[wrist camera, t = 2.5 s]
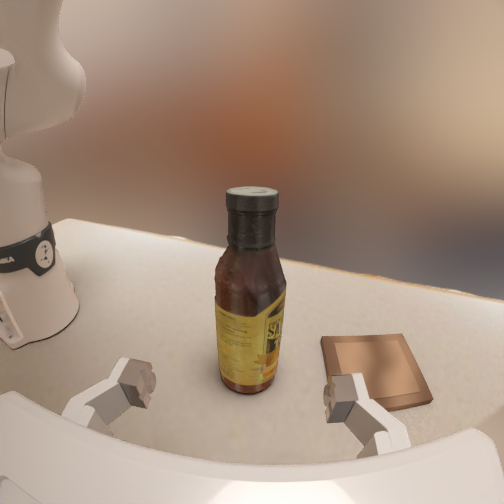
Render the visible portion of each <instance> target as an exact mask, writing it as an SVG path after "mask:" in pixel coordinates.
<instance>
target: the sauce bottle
mask: <svg viewBox="0 0 504 504" xmlns="http://www.w3.org/2000/svg"><path fill="white" fill-rule="evenodd" d="M278 196H279V194H278V192H277V191H276V190H273V189H270V188H264V187H237V188H231V189H228V190H227V192H226V206H227V211H228V227H229V228H228V236H227V240H228V244H229V246H228V247H227V249H226V251H225V252H224V254H223V256H222V257H220V259H219V262H218V264H217V266H216V269H215V284H216V296H215V314H216V331H217V346H218V360H219V368H220V372H221V377H222V379H223V381H224V382H225V383H226V385H227V386H228V387H229V388H231V389H233V390H234V391H237V392H241V393H256V392H259V391H262V390H264V389H265V388H267V387H268V386H269V385H270V383H271V382H272V380H273V379H274V375H275V373H276V370H277V365H278V357H279V349H280V341H281V334H282V323H283V315H284V304H285V295H286V280H285V277H284V274H283V270H282V267H281V264H280V260H279V257H278V253H277V250H276V246H275V213H276V212H277V209H278V202H279V201H278Z"/></svg>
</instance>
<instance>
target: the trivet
mask: <svg viewBox="0 0 504 504" xmlns="http://www.w3.org/2000/svg"><path fill="white" fill-rule="evenodd" d="M321 345H322V350H323V355H324V361H325V366H326V372H327V377H328V376H329V375H331V374H346V373H362V375H363V378H364V381H365V385H366V388H367V391H368V395H369V398H370V399H373V400H374V401H376V402H377V403H378V404H379V405H380V406H382V407H383V408H384V409H385V410H386V411H394V410H400V409H405V408H410V407H415V406H419V405H424V404H428V403H431V401H432V400H433V397H432V395H431V392H430V390H429V388H428V386H427V383H426V381H425V379H424V377H423V375H422V373H421V370H420V368H419V366H418V364H417V362H416V360H415V358H414V356H413V354H412V352H411V350H410V348H409V346H408V344H407V342H406V340H405V338H404V336H403V335H402V334H389V335H368V336H322V338H321Z"/></svg>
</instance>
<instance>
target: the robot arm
mask: <svg viewBox="0 0 504 504" xmlns="http://www.w3.org/2000/svg"><path fill="white" fill-rule="evenodd" d="M62 1H63V0H0V48H2V49H5V50H7V51H9V52H10V53H11V54H12V55H13V57H14V59H15V63H14V64H12V65H10V66H6V67H2V68H0V338H1V339H2V340H3V341H4V342H5V343H6V344H7V345H8V346H9V347H10V348H12V349H15V348H18V347H20V346H22V345H24V344H26V343H28V342H32V341H37V340H41V339H45V338H47V337H50V336H52V335H54V334H56V333H57V332H59V331H60V330H62V329H63V328H64V327H66V326H67V325H68V324H69V323H70V322H71V321H72V320H73V318H74V317H75V315H76V314H77V312H78V309H79V300H78V298H77V296H76V295H75V293H74V285H73V282H72V281H69V279H68V276H67V274H66V271H65V268H64V266H63V263H62V260H61V258H60V255H59V252H58V250H57V249H55V245H56V243H55V238H54V231H53V229H52V226H51V223H50V222H49V221H48V218H47V212H46V206H45V199H44V192H43V184H42V178H41V175H40V173H39V171H38V170H37V169H36V168H35V167H34V166H33V165H31V164H28V163H26V162H23V161H20V160H16V159H12V158H9V157H7V156H5V155H4V154H3V152H2V149H1V143H2V142H3V141H4V140H6V139H7V138H11V137H14V136H18V135H22V134H26V133H30V132H35V131H39V130H44V129H47V128H49V127H51V126H54V125H57V124H59V123H62V122H64V121H67V120H69V119H71V118H72V117H73V116H74V115H75V114H76V112H77V111H78V109H79V108H80V106H81V104H82V102H83V99H84V96H85V92H86V76H85V73H84V70H83V68H82V66H81V65H80V64H79V63H78V62H77V61H76V60H75V59H74V58H72V57H71V56H70V55H69V54H68V53H67V51H66V50H65V48H64V46H63V44H62V42H61V39H60V35H59V28H58V21H59V14H60V9H61V5H62ZM151 370H152V365H151V363H149V362H144V361H140V360H135V359H131V358H126V357H121V358H120V359H119V360H118V362H117V364H116V365H115V367H114V369H113V371H112V372H111V374H110V376H109V378H108V379H104V380H102V381H101V382H99V383H97V384H95V385H93V386H92V387H90V388H88V389H86V390H85V391H83V392H81V393H79V394H77V395H76V396H74V397H72V398H71V399H70V401H69V402H68V404H67V406H66V407H65V409H64V411H63V413H62V414H61V416H60V415H58V414H56V413H54V412H52V411H50V410H48V409H46V408H44V407H43V406H41V405H39V404H37V403H35V402H33V401H32V400H30V399H28V398H27V397H25V396H23V395H22V394H20V393H18V392H16V391H9V392H6V393H4V394H1V395H0V504H504V474H503V470H502V467H501V463H500V459H499V456H498V453H497V450H496V447H495V444H494V442H493V441H492V439H491V438H490V437H488V436H487V435H485V434H484V433H482V432H481V431H479V430H477V429H475V428H473V427H469V428H465V429H463V430H460V431H458V432H455V433H453V434H450V435H448V436H445V437H442V438H439V439H436V440H433V441H430V442H427V443H424V444H420V445H417V446H413V447H411V443H410V440H409V437H408V433H407V430H406V427H405V425H404V424H402V423H401V422H400V421H399V420H397V419H396V418H395V417H394V416H392V415H391V414H390V413H389V412H388V411H386V410H385V409H384V408H383V407H382V406H380V405H379V404H378V403H377V402H376V401H374V400H373V399H370V398H369V395H368V391H367V388H366V385H365V381H364V378H363V375H362V373H346V374H331V375H329V376H328V379H327V382H328V384H327V385H325V388H324V394H323V400H324V405H325V406H326V407H327V408H326V411H325V415H326V422H327V423H340V422H344V423H345V425H346V426H347V427H348V428H349V429H350V430H351V432H352V433H353V434H354V435H355V436H356V437H357V438H358V440H359V441H360V442H361V443H362V444H363V445H364V446H365V447H364V448H363V449H362V451H361V452H360V453H359V454H358V455H357V459H351V460H344V461H335V462H325V463H312V464H248V463H235V462H224V461H216V460H208V459H201V458H195V457H189V456H184V455H178V454H173V453H169V452H164V451H160V450H156V449H152V448H148V447H144V446H140V445H137V444H133V443H130V442H127V441H124V440H121V439H117V438H114V437H112V436H113V434H112V432H111V431H110V429H109V428H108V427H107V425H109V424H110V423H111V422H112V421H114V420H115V419H116V418H117V417H119V416H120V415H121V414H122V413H124V412H125V411H126V410H127V409H129V408H130V407H131V405H132V406H136V407H141V408H146V409H147V407H148V404H149V402H150V399H151V397H150V395H149V394H151V393H152V392H154V389H155V386H156V377H155V374H154V373H153V372H152V371H151Z"/></svg>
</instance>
